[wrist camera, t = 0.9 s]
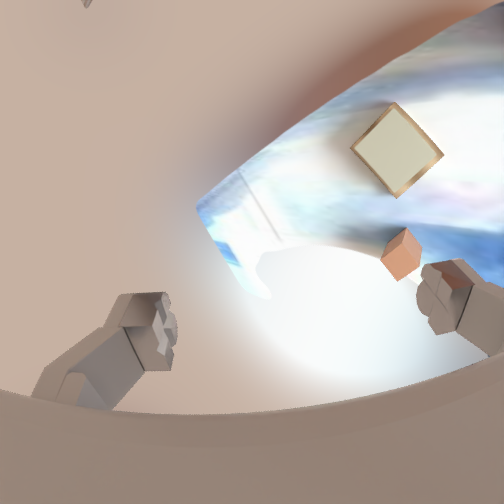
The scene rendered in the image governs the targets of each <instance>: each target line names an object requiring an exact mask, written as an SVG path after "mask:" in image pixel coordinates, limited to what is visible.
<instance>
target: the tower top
mask: <svg viewBox="0 0 504 504" xmlns="http://www.w3.org/2000/svg"><path fill="white" fill-rule="evenodd" d="M354 149H355V150H356V151H357V152H358V153H359V154H360V155H361V156H362V157H363V158H364V159H365V160H366V161H367V162H368V164H369V165H370V166H371V167H372V168H373V169H374V170H375V171H376V172H377V174H378V175H379V176H380V177H381V178H382V179H383V180H384V181H385V183H386V184H387V185H388V186H389V187H390V188H391V190H392V191H393V192H394V193H395V192H396V191H397V190H399V189H400V188H401V187H402V186H403V185H404V184H405V183H406V182H408V181H409V180H410V179H411V178H412V177H413V176H414V175H415V174H416V173H418V172H419V171H420V170H421V169H422V168H423V167H424V166H425V165H426V164H427V163H429V162H430V161H431V160H432V159H433V158H434V157H435V156H436V155H437V154H436V153H435V152H434V150H433V149H432V148H431V147H430V146H429V145H428V143H427V142H426V141H425V140H424V139H423V138H422V137H421V136H420V134H419V133H418V132H417V131H416V130H415V129H414V128H413V127H412V126H411V125H410V124H409V123H408V122H407V120H406V119H405V118H404V117H403V116H402V115H401V114H400V113H399V112H398V111H397V110H396V109H394V108H393V109H392V110H391V111H390V112H389V113H388V114H387V115H386V116H385V117H384V118H383V119H382V120H381V121H380V122H379V123H378V124H377V126H376V127H375V128H374V129H373V130H372V131H371V132H370V133H369V134H368V135H367V136H366V137H365V138H364V139H363V140H362V141H361V142H360V143H359V144H358V145H357V146H356V147H355V148H354Z"/></svg>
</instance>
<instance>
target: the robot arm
mask: <svg viewBox="0 0 504 504" xmlns="http://www.w3.org/2000/svg"><path fill="white" fill-rule="evenodd" d="M421 277H422V279H423V281H422V282H421V283H420V285H419V286H418V289H417V294H416V298H417V305H418V308H419V310H420V311H421V313H422V314H424V315H426V316H428V317H429V318H428V323H429V325H430V326H431V328H432V329H433V331H434V332H435V334H436V335H440V334H444V333H448V332H452V331H456V332H457V333H458V334H460V335H461V336H463V337H464V338H465V339H467V340H468V341H470V342H471V343H473V344H474V345H475V346H477V347H478V348H480V349H481V350H482V351H484V352H485V353H486V354H488V355H489V356H491V357H489V358H487V359H484V360H482V361H479V362H477V363H474V364H472V365H469V366H466V367H464V368H461V369H458V370H456V371H453V372H450V373H447V374H444V375H441V376H438V377H435V378H432V379H429V380H425V381H422V382H419V383H415V384H412V385H408V386H405V387H401V388H397V389H394V390H389V391H386V392H381V393H377V394H373V395H369V396H364V397H359V398H354V399H350V400H344V401H339V402H333V403H328V404H321V405H315V406H308V407H300V408H293V409H285V410H276V411H264V412H252V413H237V414H212V415H211V414H209V415H178V414H150V413H134V412H122V411H112V409H113V408H114V407H115V406H116V405H117V404H118V403H119V401H120V400H121V399H122V398H123V397H124V396H125V395H126V393H127V392H128V391H129V390H130V389H131V388H132V387H133V385H134V384H135V383H136V382H137V381H138V380H139V379H140V378H141V376H142V375H143V374H144V373H145V372H144V371H170V370H171V366H172V361H173V356H174V353H173V350H172V347H173V346H174V345H175V344H176V341H177V323H176V319H175V315H174V314H173V313H172V312H171V311H169V307H170V304H171V302H170V299H169V297H168V294H167V293H166V292H152V293H130V294H121V295H119V296H118V298H117V300H116V302H115V304H114V306H113V308H112V310H111V312H110V314H109V316H108V318H107V320H106V322H105V324H104V326H103V328H97V329H96V330H95V331H93V332H92V333H91V334H89V335H88V336H86V337H85V338H84V339H82V340H81V341H80V342H78V343H77V344H76V345H75V346H73V347H72V348H70V349H69V350H68V351H66V352H65V353H64V354H62V355H61V356H60V357H58V358H57V359H56V360H54V361H53V362H52V363H50V364H49V365H48V366H46V367H45V368H44V370H43V372H42V374H41V376H40V378H39V380H38V382H37V384H36V386H35V388H34V390H33V392H32V395H31V397H29V396H24V395H20V394H16V393H13V392H9V391H5V390H2V389H0V504H504V288H502V287H500V286H497V285H495V284H493V283H491V282H487V283H486V282H485V281H484V280H483V279H482V278H481V277H480V275H479V274H478V273H477V272H475V271H474V270H473V269H472V268H471V267H470V266H469V265H468V264H467V263H466V262H465V261H464V260H463V259H460V258H456V259H451V260H448V261H442V262H436V263H430V264H425V265H424V267H423V268H422V272H421Z"/></svg>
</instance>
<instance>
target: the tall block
mask: <svg viewBox="0 0 504 504" xmlns="http://www.w3.org/2000/svg"><path fill="white" fill-rule="evenodd" d="M421 252H422V246H421V245H420V244H419V243H418V241H417V240H416V239H415V237H414V236H413V235H412V233H411V232H410V231H409V230H408V228H405V229H404V230H403V231H402V232H400V233H399V234H398V235H397V236H395V237H394V238H393V239H392V240H390V241H389V242H388V244H387V246H386V248H385V250H384V253H383V255H382V257H381V259H380V260H381V262H382V263H383V264H384V265H385V267H386V268H387V269H388V270H389V271H390V273H391V274H392V275H393V277H394V278H395V279H396V280H397V281H399V280H400V279H402V278H403V277H405V276H406V275H408V274H409V273H411V272H412V271H413V270H415V269H416V268H418V267H419V266H420V259H421Z"/></svg>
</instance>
